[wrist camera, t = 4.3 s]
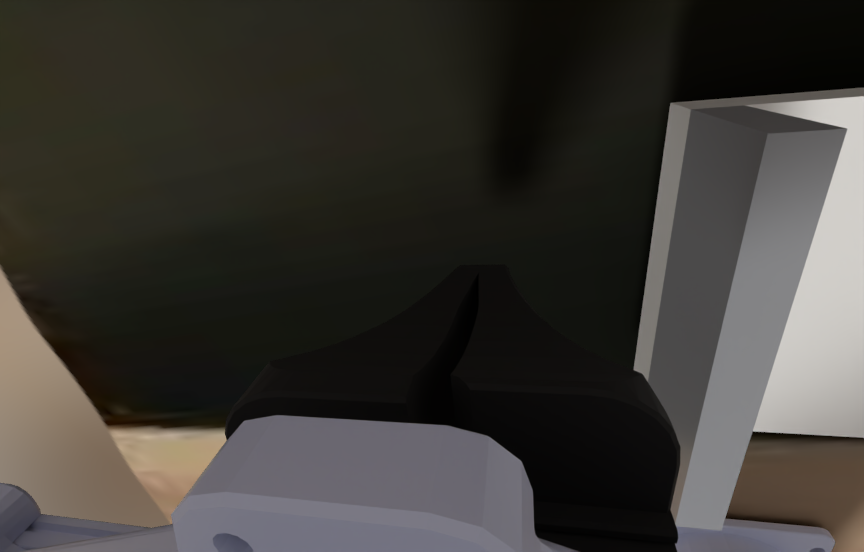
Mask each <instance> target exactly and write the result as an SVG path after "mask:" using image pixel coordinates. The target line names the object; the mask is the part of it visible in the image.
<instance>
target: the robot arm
mask: <svg viewBox="0 0 864 552" xmlns="http://www.w3.org/2000/svg"><path fill="white" fill-rule="evenodd" d="M225 435H226V439H227V441H226V443H225V444H224V445H223V446H222V448H221V449H220V450H219V452H218V453H217V454H216V456H215V457H214V458H213V460H212V461H211V462H210V464H209V465H208V466H207V468H206V469H205V470H204V472H203V473H202V474H201V476H200V477H199V478H198V480H197V481H196V482H195V484H194V485H193V486H192V488H191V489H190V490H189V492H188V493H187V494H186V496H185V497H184V498H183V500H182V501H181V502H180V504H179V505H178V506H177V508H176V509H175V510H174V512H173V513H172V514H171V516H172V523H173V524H171V525H165V526H160V527H154V528H148V527H140V526H132V525H124V524H115V523H108V522H100V521H92V520H84V519H76V518H67V517H60V516H53V515H45V514H41V512H40V508H39V507H38V505H37V503H36V502H35V500H34V499H33V498H32V497H31V496H30V495H29V494H28V493H27V492H26V491H25V490H23V489H21V488H20V487H18V486H15V485H12V484H5V483H0V552H831V551H832V549H833V547H834V545H835V540H834V538H833V537H832V535H831V534H830V532H829V531H828V530H826V529H824V528H820V527H812V526H801V525H790V524H779V523H769V522H758V521H747V520H736V519H726V518H725V521H724V524H723V527H722V530H721V531H720V530H710V529H699V528H689V527H679V526H676V525H675V522H674V519H673V516H672V513H671V510H670V509H671V505H672V500H673V496H674V491H675V486H676V482H677V477H678V473H679V468H680V452H681V447H680V444H679V442H678V439H677V436H676V433H675V430H674V428H673V425H672V423H671V421H670V419H669V417H668V415H667V413H666V411H665V409H664V407H663V406H662V404H661V402H660V401H659V399H658V397H657V396H656V394H655V393H654V391H653V389H652V388H651V386H650V385H649V383H648V382H647V380H646V378H645V377H644V375H643V374H642V373H640V372H637V371H634V370H632V369H629V368H627V367H624V366H621V365H619V364H616V363H614V362H611V361H608V360H606V359H604V358H602V357H600V356H598V355H596V354H594V353H592V352H590V351H588V350H586V349H584V348H582V347H580V346H579V345H577V344H575V343H574V342H572V341H570V340H569V339H567V338H566V337H565V336H563V335H562V334H560V333H559V332H557V331H556V330H555V329H553V328H552V327H551V326H550V325H548V324H547V323H546V322H545V321H544V320H543V319H542V318H541V317H540V316H539V315H538V314H537V313H536V312H535V310H534V309H533V308H532V307H531V306H530V305H529V303H528V302H527V301H526V300H525V298H524V297H523V295H522V294H521V292H520V291H519V290H518V288H517V286H516V285H515V283H514V281H513V279H512V277H511V275H510V273H509V268H508V267H506V266H505V265H460V266H459V267H457V268H456V269H455V270H454V271H453V272H452V273H451V274H450V275H449V276H448V277H446V278H445V279H444V280H443V281H442V282H441V283H440V284H439V285H437V286H436V287H435V288H434V289H433V290H432V291H431V292H429V293H428V294H427V295H425V296H424V297H423V298H421V299H420V300H419V301H417V302H416V303H415V304H413V305H412V306H411V307H409V308H408V309H406V310H405V311H403V312H402V313H400V314H399V315H397V316H395V317H394V318H392V319H390V320H388V321H387V322H385V323H383V324H381V325H379V326H377V327H375V328H372V329H370V330H368V331H366V332H364V333H362V334H359V335H357V336H355V337H353V338H350V339H347V340H345V341H342V342H339V343H337V344H333V345H330V346H327V347H324V348H321V349H318V350H314V351H311V352H307V353H303V354H299V355H295V356H291V357H287V358H283V359H278V360H273V361H270V362H269V363H268V364H267V366H266V367H265V368H264V369H263V370H262V372H261V373H260V374H259V375H258V377H257V378H256V379H255V380H254V382H253V383H252V384H251V385H250V387H249V388H248V389H247V390H246V391H245V393H244V394H243V395H242V396H241V398H240V399H239V400H238V401H237V403H236V404H235V405H234V406H233V408H232V410H231V412H230V413H229V415H228V417H227V419H226V429H225Z"/></svg>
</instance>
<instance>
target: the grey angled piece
mask: <svg viewBox="0 0 864 552" xmlns="http://www.w3.org/2000/svg"><path fill="white" fill-rule="evenodd" d="M634 371H637V372H640V373H642V374H643V375H644V377H645V378H646V380H647V382H648V383H649V385H650V386H651V388H652V389H653V391H654V393H655V394H656V396H657V397H658V399H659V401H660V402H661V404H662V406H663V407H664V409H665V411H666V413H667V415H668V417H669V419H670V421H671V423H672V425H673V428H674V430H675V433H676V436H677V439H678V442H679V444H680V447H681V452H680V468H679V473H678V477H677V482H676V486H675V491H674V496H673V500H672V505H671V509H670V510H671V513H672V516H673V519H674V522H675V525H676V526H679V527H689V528H699V529H710V530H720V531H721V530H722V527H723V524H724V521H725V518H726V514H727V511H728V508H729V505H730V502H731V498H732V495H733V492H734V489H735V486H736V482H737V479H738V476H739V473H740V470H741V467H742V463H743V460H744V457H745V454H746V451H747V447H748V444H749V441H750V438H751V435H752V432H753V431H755V432H773V433H790V434H808V435H825V436H843V437H861V438H864V88H851V89H839V90H826V91H814V92H801V93H788V94H776V95H763V96H750V97H738V98H725V99H713V100H700V101H687V102H675V103H670V110H669V117H668V124H667V131H666V139H665V146H664V153H663V160H662V168H661V175H660V182H659V189H658V197H657V204H656V211H655V219H654V226H653V233H652V240H651V248H650V255H649V262H648V269H647V277H646V284H645V291H644V298H643V306H642V313H641V320H640V327H639V335H638V342H637V349H636V356H635V364H634Z"/></svg>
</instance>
